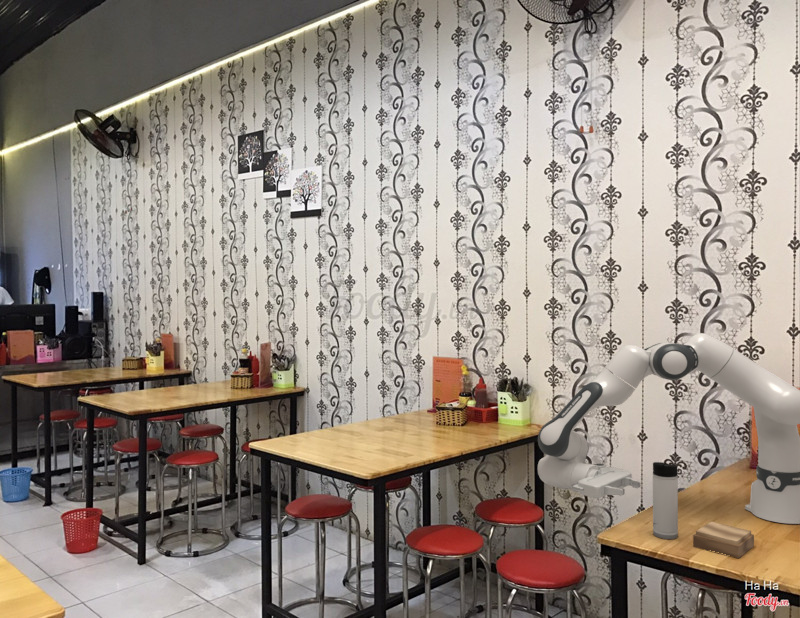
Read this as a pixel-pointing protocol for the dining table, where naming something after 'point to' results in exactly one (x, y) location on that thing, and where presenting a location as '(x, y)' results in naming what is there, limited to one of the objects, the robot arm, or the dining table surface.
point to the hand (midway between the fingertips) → (631, 488)
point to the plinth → (724, 539)
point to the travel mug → (665, 500)
